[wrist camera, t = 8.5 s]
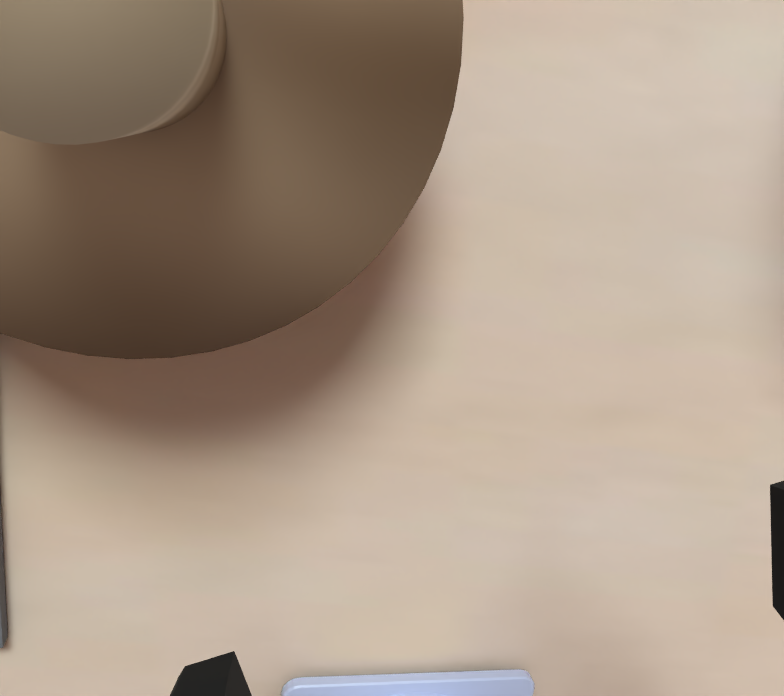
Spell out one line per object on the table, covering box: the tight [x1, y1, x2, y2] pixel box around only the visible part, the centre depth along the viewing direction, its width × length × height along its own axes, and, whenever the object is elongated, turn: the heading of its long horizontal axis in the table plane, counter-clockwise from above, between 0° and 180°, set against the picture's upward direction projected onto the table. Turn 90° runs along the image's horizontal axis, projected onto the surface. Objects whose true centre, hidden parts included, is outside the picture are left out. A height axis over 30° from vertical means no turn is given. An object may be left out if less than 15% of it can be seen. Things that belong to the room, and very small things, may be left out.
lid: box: [0, 0, 463, 359], centre depth 9 cm, size 11×11×5 cm
